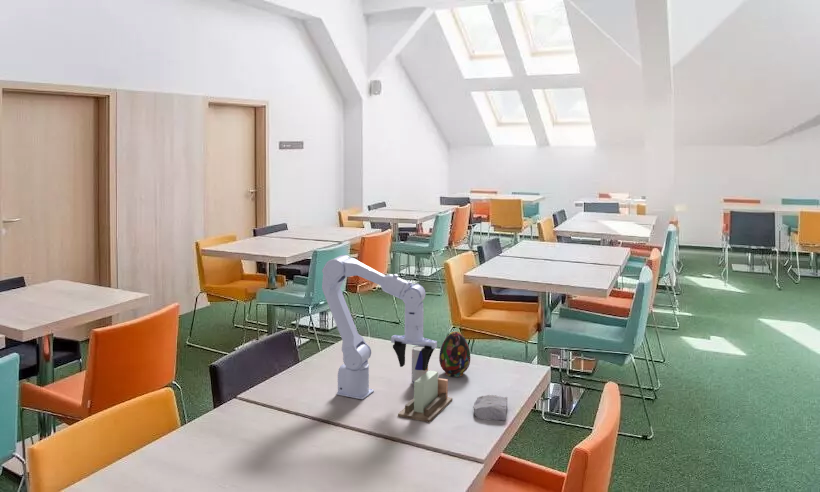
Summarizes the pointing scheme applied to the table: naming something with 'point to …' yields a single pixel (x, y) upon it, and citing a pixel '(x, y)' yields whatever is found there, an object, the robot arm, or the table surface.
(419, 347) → the energy drink
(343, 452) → the table surface
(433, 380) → the book
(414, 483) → the table surface
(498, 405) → the stone block
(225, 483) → the table surface
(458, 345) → the egg
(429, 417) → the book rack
